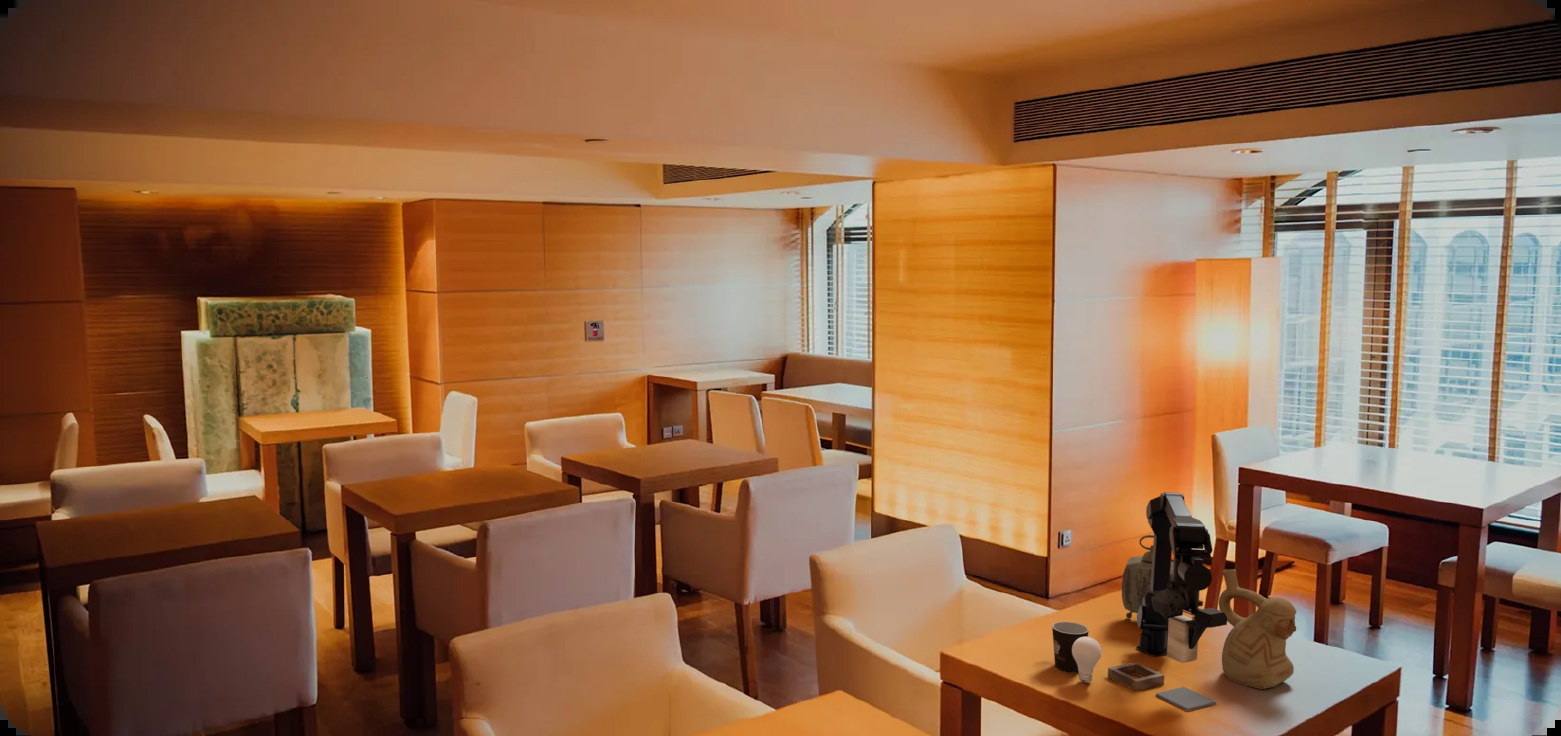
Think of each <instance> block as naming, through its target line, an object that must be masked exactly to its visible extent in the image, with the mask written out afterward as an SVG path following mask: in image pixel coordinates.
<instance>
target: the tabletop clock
mask: <svg viewBox="0 0 1561 736" xmlns="http://www.w3.org/2000/svg"><path fill="white" fill-rule="evenodd" d="M1148 538H1150V539H1151V538H1152V539H1154V534H1148V535H1147V534H1146V535H1143V536H1142V537H1141V538H1140V539H1139V545H1140V547H1141V548H1143V549H1145V550H1147V551H1146V552H1145V553H1143V555H1142V556H1132V557H1129V559H1128V560H1127V562H1126V565H1125V568H1124V570H1123V573H1122V581H1121V598H1122V605H1123V607H1124V610H1127V611H1129V612H1127V613H1126V615H1125V616H1126V618H1127V619H1131V618H1133V613H1135V614H1137V613H1138V610H1139V608H1140V605H1142V601H1143V596H1144V595H1145V594H1146V593H1147V591H1148V590H1149V589H1150V584H1151V570H1152V556H1153V545H1150V547H1147V546H1145V545H1143V544H1142V541H1143V540H1144V539H1148ZM1173 565H1174V561H1172V560H1171V570H1170V580H1173Z"/></svg>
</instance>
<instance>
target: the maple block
mask: <svg viewBox="0 0 1561 736" xmlns="http://www.w3.org/2000/svg"><path fill="white" fill-rule="evenodd" d="M1188 620H1192V617H1189V616H1186V615H1184V614H1183V615H1182V616H1176V617H1170V618H1169V625H1168V644H1167V654H1166V657H1168V658H1169V659H1172V660H1175V661H1177V662H1179V663H1181V664H1185V663H1191V662H1195V661H1198V650H1199V649H1198V647H1199V641H1198V642H1197V644H1196V646H1195V647H1194V649H1189V626H1188V625H1187V623H1186V621H1188Z"/></svg>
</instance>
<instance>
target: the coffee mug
mask: <svg viewBox="0 0 1561 736" xmlns="http://www.w3.org/2000/svg"><path fill="white" fill-rule="evenodd" d="M1051 629H1052V630H1051V631H1052V642H1053V643H1052V644H1053V655H1054V656H1053V657H1054V667H1055V668H1056V669H1057V670H1059V671H1061V672H1063V673H1064V672H1065V673H1069V672H1070V674H1072V673H1073V674H1074V673H1079V671H1078V665H1077V663H1076V661H1075V659H1074V657H1073V654H1072V646H1073V644H1074V642H1075V641H1076V640H1077V639H1078V638H1080V637H1089V630H1090V629H1089V628H1088V627H1087V626H1086V625H1084V624H1081V623H1079V622H1078V623H1077V622H1074V621H1058V622H1054V623H1052V624H1051Z"/></svg>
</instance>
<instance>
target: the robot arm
mask: <svg viewBox="0 0 1561 736" xmlns="http://www.w3.org/2000/svg"><path fill="white" fill-rule="evenodd" d="M1145 509H1146V510H1145V511H1146V512H1145V513H1146V515H1145V516H1146V519H1147V523H1148V524H1149V527H1150V529H1151V531H1152V532H1153V535H1154V538H1153V540H1152V541H1153V542H1152V543H1153V556H1152V570H1151V584H1150V589H1149V590H1148V591H1147V593H1146V594H1145V595H1144V596H1143V601H1142V605H1140V608H1139V610H1138V613H1136V625H1137V626H1138V628H1139V630H1141V633H1140V638H1139V639H1140V644H1139V645H1136V646H1135V649H1137V650H1139V651H1141V652H1143V653H1145V654H1148V655H1150V656H1151V657H1161V656H1164V655H1167V644H1168V625H1169V618H1170V617H1176V616H1182V615H1184V613H1185V614H1187V615H1191V616H1192V617H1191V618H1192V620H1188V621H1186V623H1187V625H1188V626H1189V649H1194V647H1195V646H1196V644H1197V642H1198V643H1199V641H1200V638H1201V637H1202V635H1203V634H1204V633H1205V631H1206V630H1207V628H1210V629H1213V628H1216V627H1217V628H1218V627H1222V626H1227V625H1228V621H1227V615H1226V614H1225V612H1223V611H1220V609H1217V608H1214V607H1208V608H1203V609H1202V608H1199V607H1203V606H1204V601H1203V600H1200V591H1205V590H1206V589H1208V587H1210V585H1211V584H1212V581H1213V575H1212V572H1211V571H1210V569H1209V567H1207V566H1206V565H1205V563H1204V559H1212V556H1211V555H1212V552H1213V546H1212V540H1211V535H1210V532H1209V530H1208V528H1206V526H1205V524H1204V523H1203V522H1202V521H1201V520H1200V519H1197V518H1194V517H1193V516H1192V514H1191V512H1190V510H1189V508H1188V506H1187V504H1186V501H1185V496H1184V493H1183V494H1182V493H1180V492H1167V491H1166V492H1163V493H1162V492H1161V493H1160V495H1159V496H1157V497H1155V498H1151V499H1150V500H1149V501H1148V503H1147V505H1146V508H1145ZM1172 555H1173V562H1174V565H1173V580H1170V570H1171V561H1172Z"/></svg>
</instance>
